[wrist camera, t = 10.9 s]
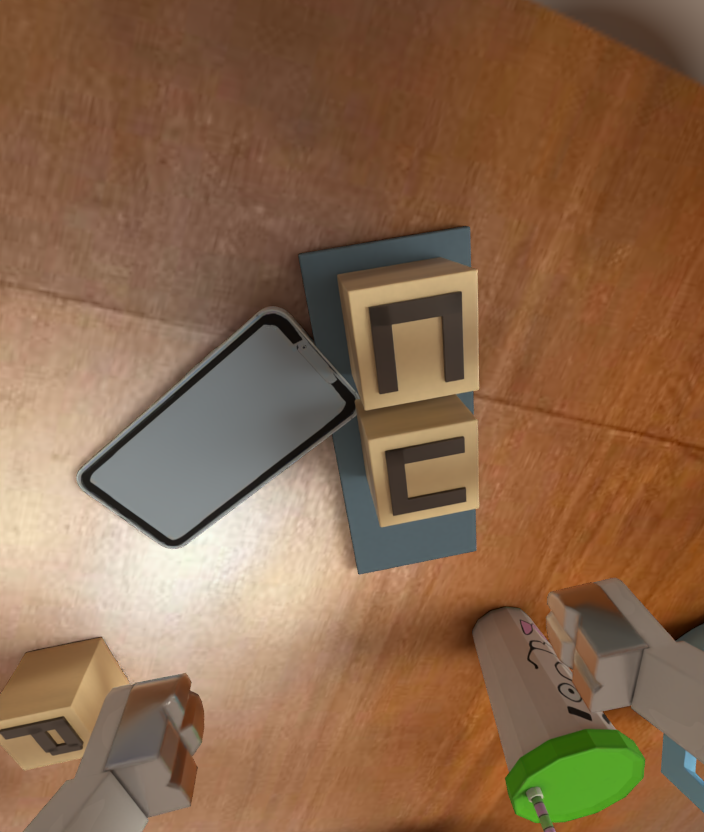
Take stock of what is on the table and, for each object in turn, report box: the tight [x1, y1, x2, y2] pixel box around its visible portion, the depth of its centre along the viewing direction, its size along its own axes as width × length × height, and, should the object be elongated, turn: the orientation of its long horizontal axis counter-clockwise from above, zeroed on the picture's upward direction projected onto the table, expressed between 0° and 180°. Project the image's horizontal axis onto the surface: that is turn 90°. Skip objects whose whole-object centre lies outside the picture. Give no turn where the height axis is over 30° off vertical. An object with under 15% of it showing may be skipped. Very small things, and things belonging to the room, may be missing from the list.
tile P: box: [0, 637, 129, 770], centre depth 28 cm, size 5×5×5 cm
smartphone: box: [76, 306, 360, 549], centre depth 24 cm, size 7×1×15 cm
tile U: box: [355, 394, 479, 527], centre depth 22 cm, size 5×5×5 cm
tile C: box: [337, 257, 479, 410], centre depth 19 cm, size 5×5×5 cm
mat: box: [298, 226, 476, 574], centre depth 24 cm, size 20×8×1 cm, turn 8°
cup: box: [472, 607, 645, 832], centre depth 27 cm, size 8×8×15 cm
